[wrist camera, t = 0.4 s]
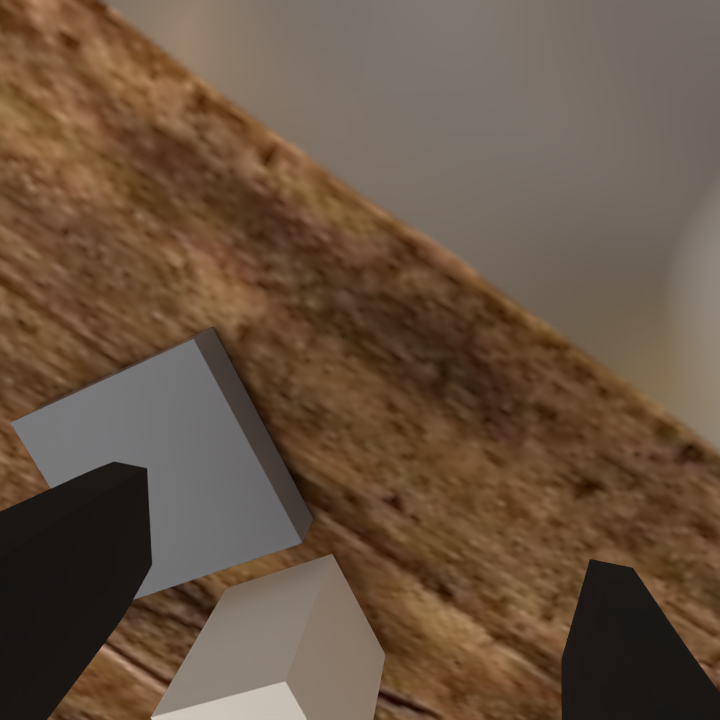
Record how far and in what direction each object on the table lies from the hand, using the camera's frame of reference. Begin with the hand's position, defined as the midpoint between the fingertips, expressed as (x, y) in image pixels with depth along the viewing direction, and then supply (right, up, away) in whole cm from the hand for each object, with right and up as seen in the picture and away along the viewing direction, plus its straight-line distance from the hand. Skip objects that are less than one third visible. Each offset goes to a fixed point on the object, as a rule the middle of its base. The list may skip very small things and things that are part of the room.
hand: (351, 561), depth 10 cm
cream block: (-2, -6, +14) cm, 15 cm away
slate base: (-6, 0, +13) cm, 14 cm away
